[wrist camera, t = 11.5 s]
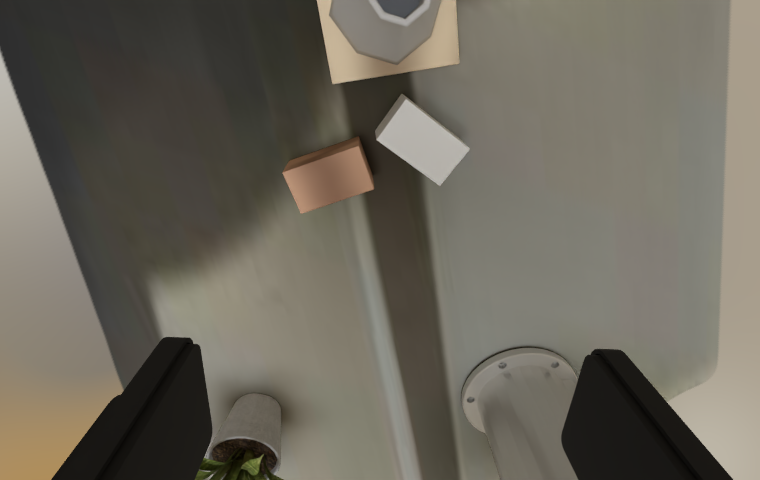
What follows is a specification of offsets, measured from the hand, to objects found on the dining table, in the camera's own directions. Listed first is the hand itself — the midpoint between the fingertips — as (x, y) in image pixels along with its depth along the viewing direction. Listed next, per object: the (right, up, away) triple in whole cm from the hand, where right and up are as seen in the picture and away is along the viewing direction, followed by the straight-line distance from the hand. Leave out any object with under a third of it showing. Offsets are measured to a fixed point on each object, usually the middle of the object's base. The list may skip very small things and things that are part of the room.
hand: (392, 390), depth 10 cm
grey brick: (+3, +12, +23) cm, 26 cm away
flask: (0, +19, +17) cm, 26 cm away
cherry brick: (-4, +10, +24) cm, 26 cm away
